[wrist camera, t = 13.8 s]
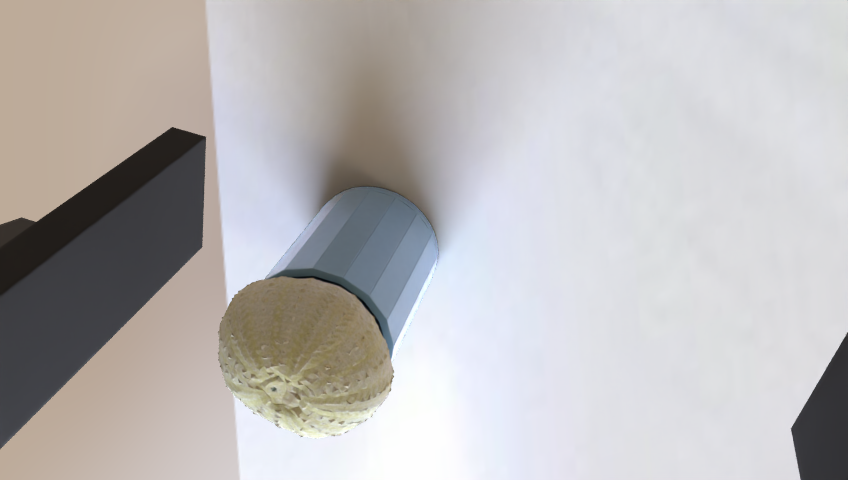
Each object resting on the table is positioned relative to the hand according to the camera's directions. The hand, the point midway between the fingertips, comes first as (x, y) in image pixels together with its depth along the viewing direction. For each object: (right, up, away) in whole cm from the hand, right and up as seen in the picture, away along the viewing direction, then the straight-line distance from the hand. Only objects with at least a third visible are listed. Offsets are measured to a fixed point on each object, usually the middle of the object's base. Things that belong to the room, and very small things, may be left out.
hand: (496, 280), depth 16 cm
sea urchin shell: (-7, -4, +27) cm, 28 cm away
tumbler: (-5, +1, +35) cm, 36 cm away
